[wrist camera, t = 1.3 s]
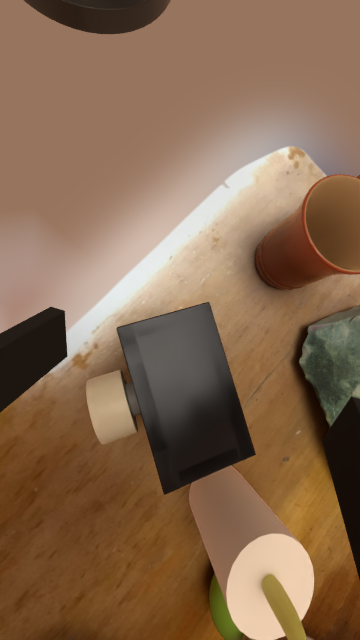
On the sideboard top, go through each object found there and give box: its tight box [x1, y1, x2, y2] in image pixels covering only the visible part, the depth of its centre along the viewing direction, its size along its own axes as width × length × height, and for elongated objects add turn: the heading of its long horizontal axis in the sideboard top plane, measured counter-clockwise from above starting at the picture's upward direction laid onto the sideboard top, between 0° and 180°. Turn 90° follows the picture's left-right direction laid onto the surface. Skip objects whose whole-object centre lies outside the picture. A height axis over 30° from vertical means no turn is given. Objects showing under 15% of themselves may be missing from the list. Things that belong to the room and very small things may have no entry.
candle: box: [189, 466, 314, 640], centre depth 19 cm, size 6×6×15 cm
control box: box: [117, 302, 256, 494], centre depth 21 cm, size 10×6×12 cm, turn 17°
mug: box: [256, 174, 360, 290], centre depth 26 cm, size 12×9×10 cm
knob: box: [86, 370, 141, 445], centre depth 18 cm, size 5×6×5 cm
